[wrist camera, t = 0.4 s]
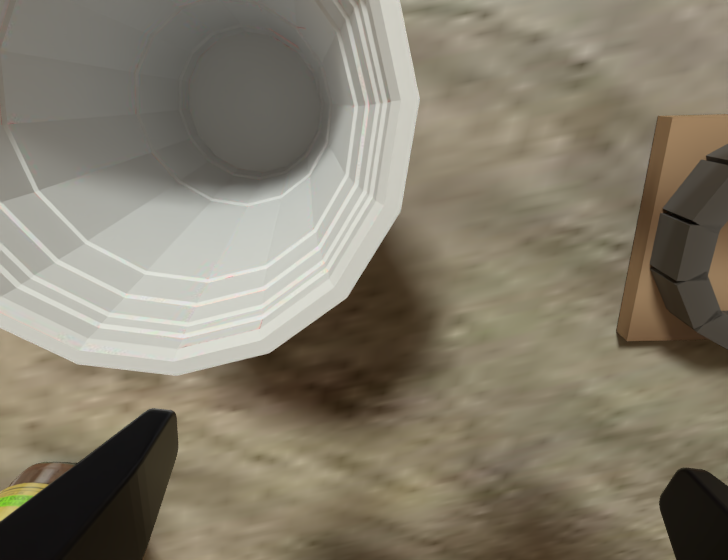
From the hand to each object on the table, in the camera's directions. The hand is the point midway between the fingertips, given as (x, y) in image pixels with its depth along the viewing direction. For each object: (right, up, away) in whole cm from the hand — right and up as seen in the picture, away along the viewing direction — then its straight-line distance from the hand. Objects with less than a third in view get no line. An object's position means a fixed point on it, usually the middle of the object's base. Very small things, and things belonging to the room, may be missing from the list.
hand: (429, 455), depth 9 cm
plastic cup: (-6, +11, +11) cm, 16 cm away
